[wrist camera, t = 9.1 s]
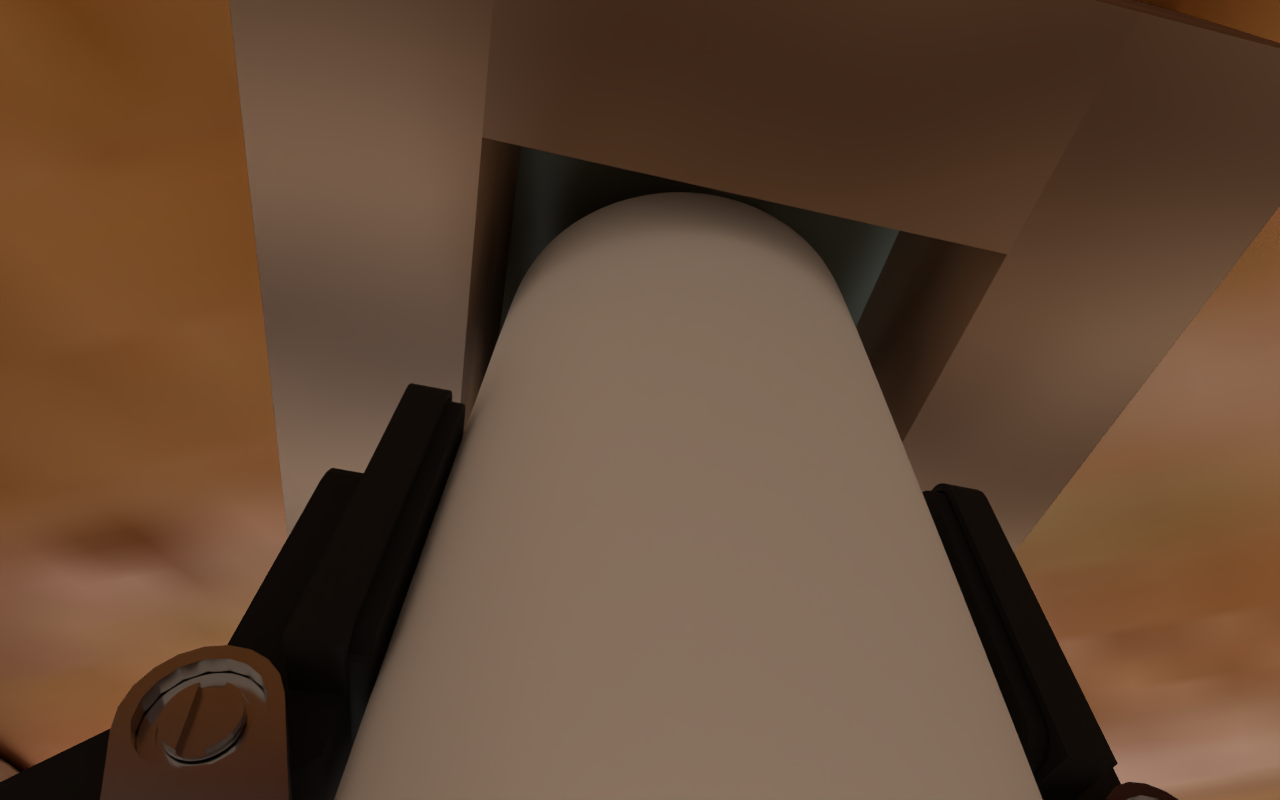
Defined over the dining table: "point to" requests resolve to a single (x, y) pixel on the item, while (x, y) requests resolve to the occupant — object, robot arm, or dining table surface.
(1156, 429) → the dining table surface
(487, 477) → the can
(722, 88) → the socket block
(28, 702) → the dining table surface
